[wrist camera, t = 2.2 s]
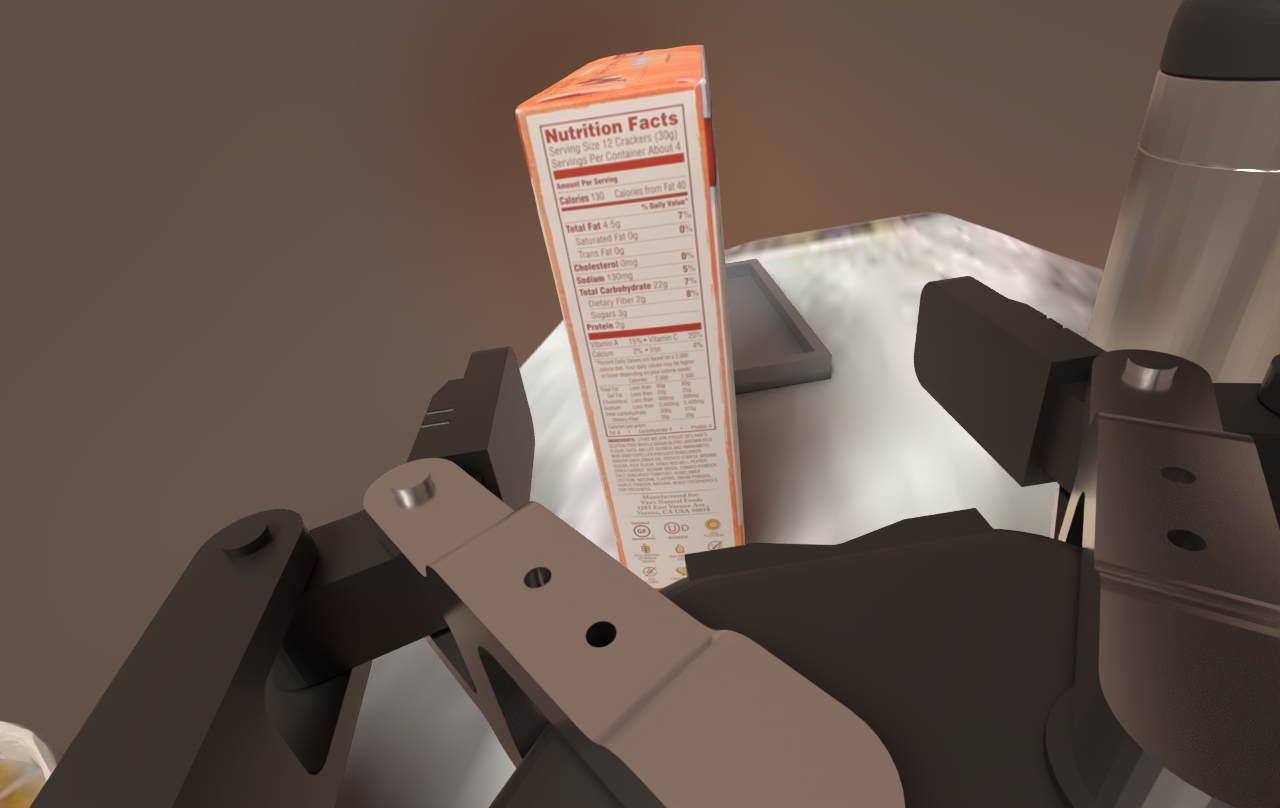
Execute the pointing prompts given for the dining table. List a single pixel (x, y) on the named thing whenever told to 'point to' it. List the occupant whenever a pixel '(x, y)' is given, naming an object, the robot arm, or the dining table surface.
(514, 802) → the robot arm
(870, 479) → the dining table surface
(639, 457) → the cracker box
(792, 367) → the tray
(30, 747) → the coffee mug
